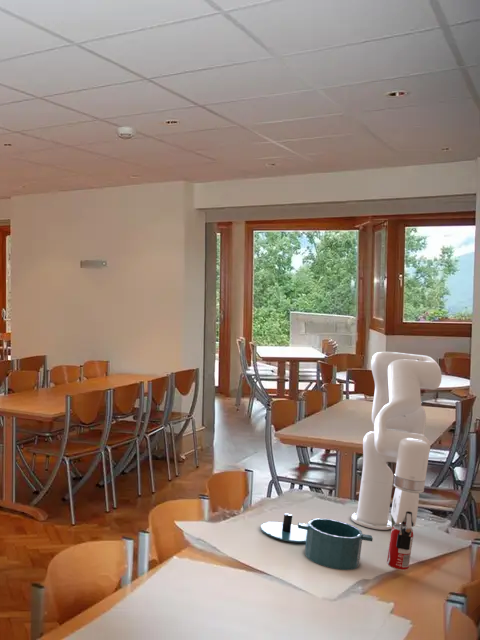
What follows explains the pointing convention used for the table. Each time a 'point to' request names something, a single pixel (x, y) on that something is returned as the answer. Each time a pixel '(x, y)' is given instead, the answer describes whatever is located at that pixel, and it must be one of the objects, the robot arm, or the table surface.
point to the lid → (284, 530)
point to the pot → (333, 543)
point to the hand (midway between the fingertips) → (400, 543)
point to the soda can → (398, 551)
